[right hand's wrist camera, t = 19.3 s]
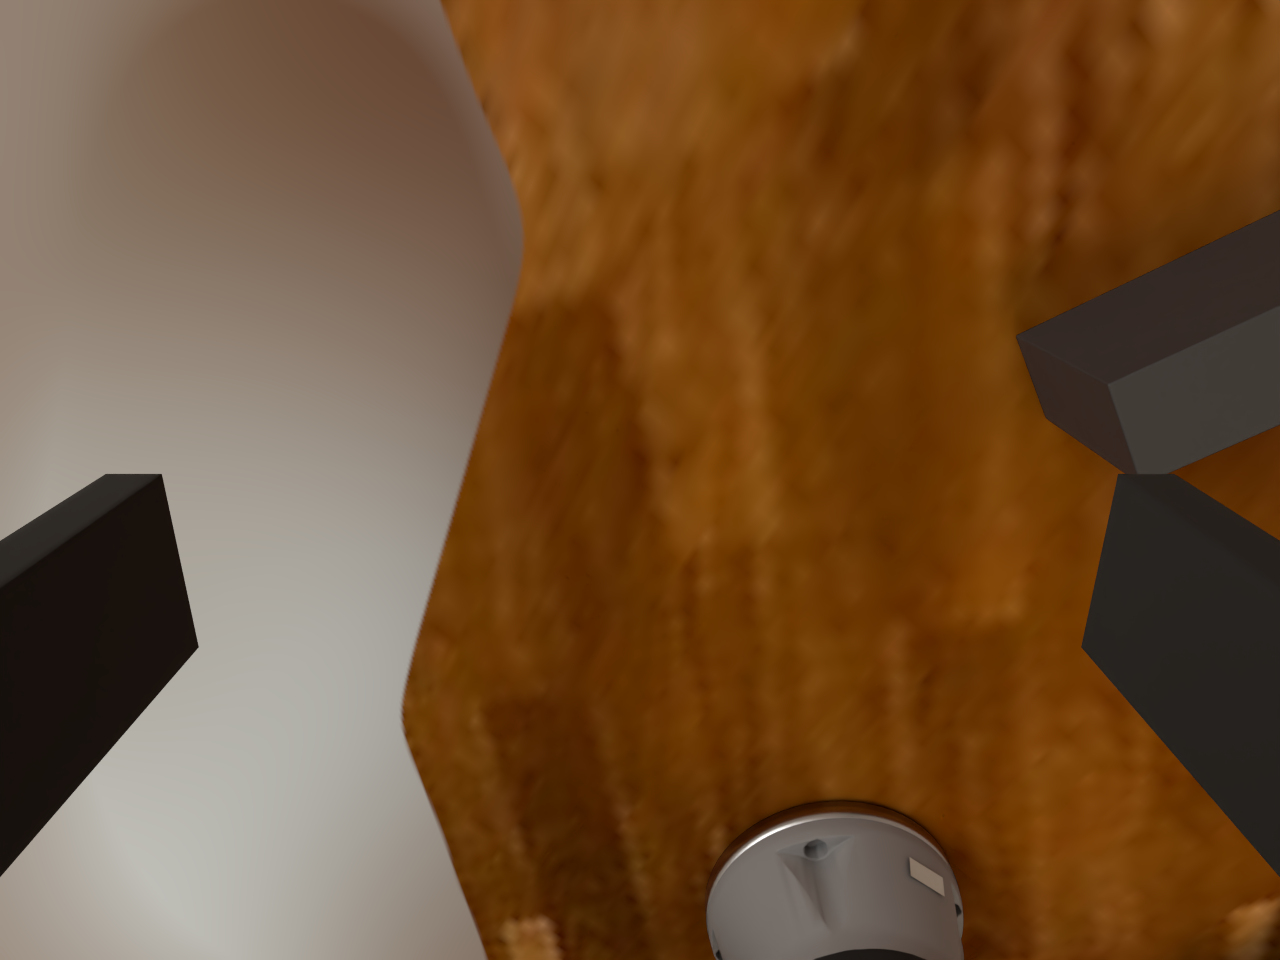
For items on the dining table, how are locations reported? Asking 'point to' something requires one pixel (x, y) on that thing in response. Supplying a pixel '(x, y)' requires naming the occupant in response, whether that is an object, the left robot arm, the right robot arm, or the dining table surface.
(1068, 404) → the bar
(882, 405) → the dining table surface
